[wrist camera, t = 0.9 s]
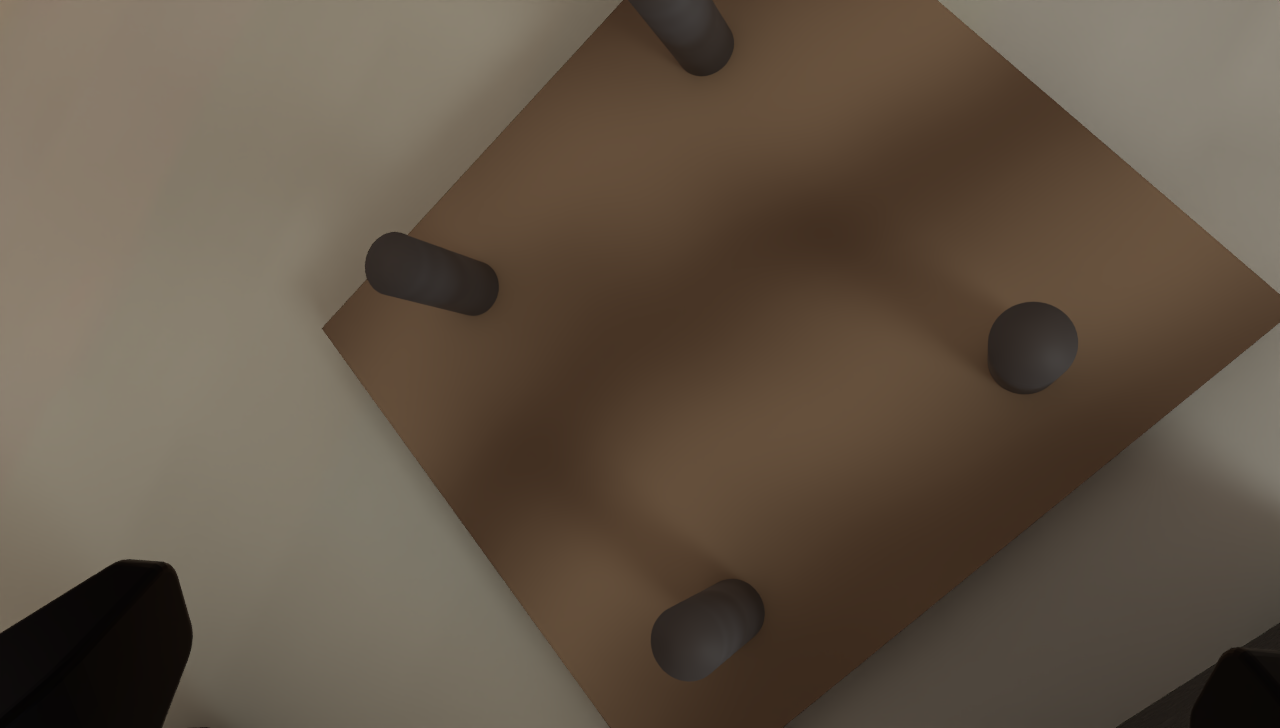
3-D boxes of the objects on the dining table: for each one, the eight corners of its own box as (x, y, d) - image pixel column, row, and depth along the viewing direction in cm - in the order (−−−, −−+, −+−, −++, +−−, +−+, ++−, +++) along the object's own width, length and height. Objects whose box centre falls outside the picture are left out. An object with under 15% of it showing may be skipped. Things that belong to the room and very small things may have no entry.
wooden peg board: (1277, 316, 16) (1369, 277, 12) (689, 797, 19) (615, 887, 15) (772, -123, 19) (721, -256, 16) (349, 333, 22) (222, 311, 19)
